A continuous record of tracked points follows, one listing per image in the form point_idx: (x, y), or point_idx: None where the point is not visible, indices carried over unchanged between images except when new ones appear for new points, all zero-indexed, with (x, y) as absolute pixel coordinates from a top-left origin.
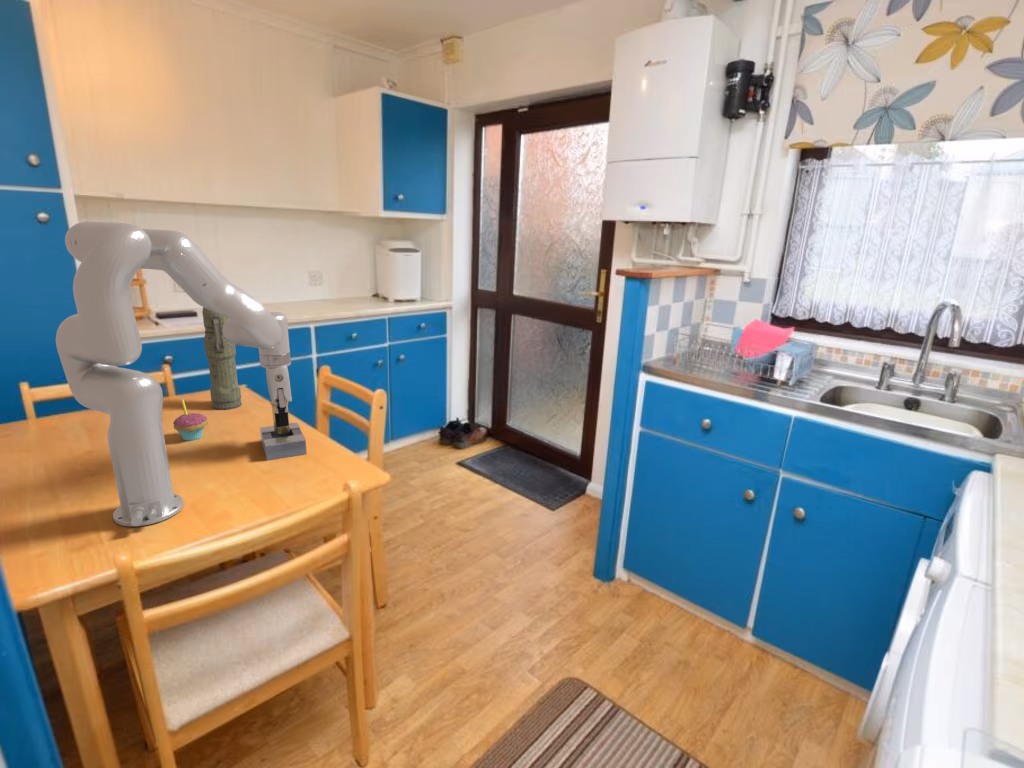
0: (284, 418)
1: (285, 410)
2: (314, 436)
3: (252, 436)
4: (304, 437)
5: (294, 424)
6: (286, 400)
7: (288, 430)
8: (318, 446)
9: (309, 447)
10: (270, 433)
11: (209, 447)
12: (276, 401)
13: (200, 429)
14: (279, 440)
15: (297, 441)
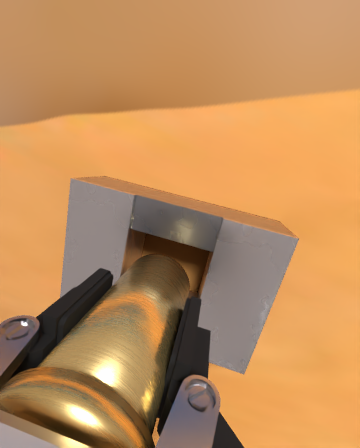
0: (207, 359)
1: (215, 419)
2: (138, 127)
3: (42, 283)
4: (271, 231)
5: (88, 198)
6: (89, 440)
7: (182, 272)
8: (241, 156)
9: (227, 187)
10: None
11: None
12: None
13: None
14: (230, 320)
15: (285, 270)
